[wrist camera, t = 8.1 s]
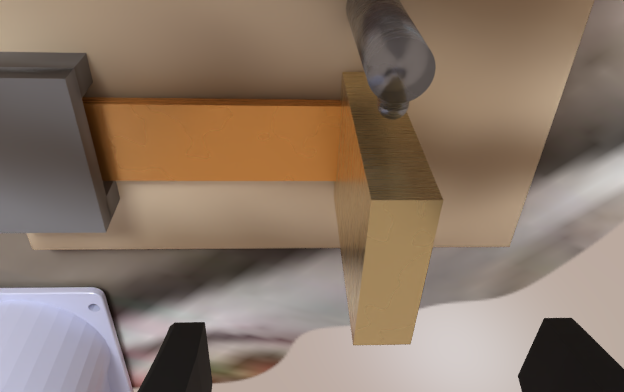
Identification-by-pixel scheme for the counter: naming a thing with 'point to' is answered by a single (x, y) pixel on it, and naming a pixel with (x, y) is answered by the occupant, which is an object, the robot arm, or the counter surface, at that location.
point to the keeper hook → (390, 53)
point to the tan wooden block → (299, 178)
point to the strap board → (266, 85)
